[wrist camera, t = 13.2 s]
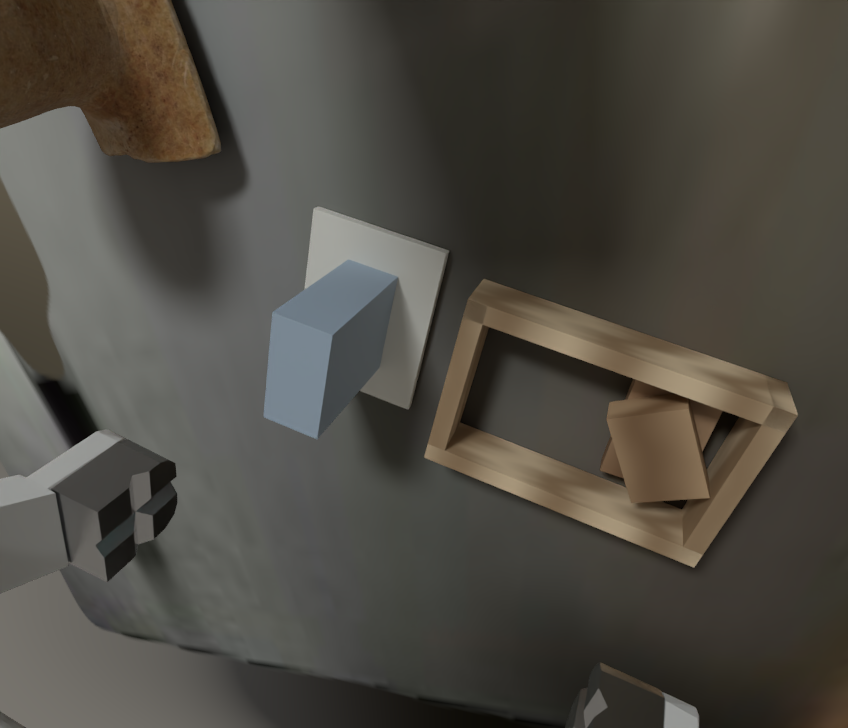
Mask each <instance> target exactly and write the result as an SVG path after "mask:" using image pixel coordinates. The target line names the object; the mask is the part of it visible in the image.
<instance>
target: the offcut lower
mask: <svg viewBox="0 0 848 728" xmlns="http://www.w3.org/2000/svg"><path fill="white" fill-rule="evenodd" d="M670 393H672V392H669V391H666V390H664V389H661V388H658V387H655V386H652V385H650V384H647V383H644V382H641V381H639V380H636V379H633V380H632V383H631V385H630V388H629V391H628V393H627V396H626V398H625V400H628V399H635V398H642V397H649V396H656V395H663V394H670ZM690 402H691V406H692V410H693V414H694V418H695V423H696V427H697V431H698V435H699V440H700V444H701V448H702V451H703V449H704V447H705V445H706V443H707V441H708V439H709V437H710V435H711V433H712V431H713V429H714V427H715V425H716V423H717V421H718V419H719V417H720V415H721V413H722V410H719V409H717V408H714V407H711V406H708V405H706V404H703V403H700V402H697V401H694V400H692V399H690ZM600 471H603V472H606V473H609V474H612V475H615V476H618V477H621V478H623V474H622V471H621V467H620V464H619V461H618V457H617V454H616V450H615V447H614V443H613V440H612V437H611V436H610V439H609V441H608V444H607V446H606V449H605V452H604V454H603V457H602V460H601V466H600Z"/></svg>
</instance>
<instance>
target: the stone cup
mask: <svg viewBox="0 0 848 728" xmlns="http://www.w3.org/2000/svg"><path fill="white" fill-rule="evenodd" d="M67 106H76V107H80V108H81V110H82V111H83V113H84V115H85V117H86V119H87V121H88V123H89V125H90V127H91V129H92V131H93V133H94V135H95V137H96V139H97V142H98V144H99V146H100V148H101V150H102V151H103V152H104V153H105V154H107V155H109V156H114V155H119V156H121V155H129V156H130V157H132V158H133V159H138V160H143V161H145V162H147V163H158V162H179V161H187V160H194V159H202V158H206V157H208V156H210V155H212V154H217V153H219V152H220V151H221V142H220V139H219V135H218V132H217V129H216V125H215V122H214V119H213V116H212V113H211V110H210V106H209V103H208V100H207V97H206V95H205V92H204V89H203V86H202V83H201V80H200V77H199V75H198V72H197V69H196V66H195V63H194V61H193V58H192V55H191V52H190V50H189V48H188V45H187V42H186V39H185V36H184V33H183V31H182V28H181V25H180V22H179V20H178V17H177V15H176V12H175V9H174V7H173V4H172V2H171V0H0V128H3V127H6V126H9V125H12V124H15V123H18V122H21V121H23V120H26V119H29V118H32V117H34V116H37V115H40V114H42V113H45V112H47V111H50V110H53V109H57V108H62V107H67Z"/></svg>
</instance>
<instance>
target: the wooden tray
mask: <svg viewBox="0 0 848 728" xmlns="http://www.w3.org/2000/svg"><path fill="white" fill-rule="evenodd" d="M489 327H491V328H493V329H496V330H499V331H502V332H504V333H507V334H510V335H513V336H516V337H518V338H521V339H524V340H527V341H530V342H532V343H535V344H538V345H541V346H544V347H546V348H549V349H552V350H555V351H558V352H560V353H563V354H566V355H569V356H571V357H574V358H577V359H580V360H583V361H585V362H588V363H591V364H594V365H597V366H599V367H602V368H605V369H608V370H611V371H613V372H616V373H619V374H622V375H625V376H627V377H630V378H633V379H636V380H639V381H641V382H644V383H647V384H650V385H652V386H655V387H658V388H661V389H664V390H666V391H669V392H672V393H675V394H678V395H680V396H683V397H686V398H689V399H692V400H694V401H697V402H700V403H703V404H706V405H708V406H711V407H714V408H717V409H719V410H722V411H725V412H728V413H731V414H733V415H736V416H739V418H738V420H737V421H736V423H735V424H734V426H733V428H732V429H731V431H730V433H729V434H728V436H727V437H726V439H725V441H724V442H723V444H722V446H721V447H720V449H719V450H718V452H717V454H716V455H715V457H714V458H713V460H712V462H711V463H710V465H709V467H708V468H707V473H708V479H709V494H710V498H701V499H688V501H687V502H686V504H685V506H684V507H683V509H679V508H677V507H674V506H672V505H669V504H667V503H664V502H662V501H656V502H641V503H631V501H630V498H629V495H628V491H627V488H626V487H623V486H621V485H618V484H616V483H613V482H611V481H608V480H606V479H603V478H600V477H598V476H595V475H593V474H590V473H588V472H585V471H583V470H580V469H578V468H575V467H572V466H570V465H567V464H565V463H562V462H560V461H557V460H555V459H552V458H550V457H547V456H544V455H542V454H539V453H537V452H534V451H532V450H529V449H527V448H524V447H521V446H519V445H516V444H514V443H511V442H509V441H506V440H504V439H501V438H499V437H496V436H493V435H491V434H488V433H486V432H483V431H481V430H478V429H476V428H473V427H471V426H468V425H465V424H463V423H460V421H461V418H462V414H463V411H464V408H465V405H466V401H467V398H468V395H469V391H470V388H471V385H472V382H473V378H474V375H475V372H476V369H477V365H478V362H479V359H480V356H481V352H482V349H483V346H484V343H485V339H486V336H487V333H488V330H489ZM797 416H798V414H797V411H796V408H795V405H794V402H793V399H792V396H791V393H790V390H789V387H788V384H787V382H784V381H781V380H778V379H775V378H772V377H769V376H766V375H763V374H760V373H758V372H755V371H752V370H749V369H746V368H743V367H740V366H737V365H734V364H731V363H728V362H725V361H723V360H720V359H717V358H714V357H711V356H708V355H705V354H702V353H699V352H696V351H693V350H691V349H688V348H685V347H682V346H679V345H676V344H673V343H670V342H667V341H664V340H661V339H658V338H656V337H653V336H650V335H647V334H644V333H641V332H638V331H635V330H632V329H629V328H626V327H623V326H621V325H618V324H615V323H612V322H609V321H606V320H603V319H600V318H597V317H594V316H591V315H589V314H586V313H583V312H580V311H577V310H574V309H571V308H568V307H565V306H562V305H559V304H556V303H554V302H551V301H548V300H545V299H542V298H539V297H536V296H533V295H530V294H527V293H524V292H521V291H519V290H516V289H513V288H510V287H507V286H504V285H501V284H498V283H495V282H492V281H489V280H486V279H483V280H482V281H481V283H480V284H479V285H478V287H477V288H476V289H475V290H474V292H473V293H472V294H471V296H470V297H469V298H468V301H467V304H466V308H465V311H464V315H463V319H462V322H461V326H460V329H459V333H458V337H457V340H456V344H455V347H454V351H453V355H452V358H451V362H450V365H449V369H448V373H447V376H446V380H445V384H444V387H443V391H442V394H441V398H440V402H439V405H438V409H437V412H436V416H435V420H434V423H433V427H432V430H431V434H430V438H429V441H428V445H427V449H426V452H425V456H424V458H427V459H429V460H432V461H434V462H437V463H439V464H441V465H444V466H446V467H449V468H451V469H454V470H456V471H459V472H461V473H463V474H466V475H468V476H471V477H473V478H476V479H478V480H481V481H483V482H485V483H488V484H490V485H493V486H495V487H498V488H500V489H503V490H505V491H507V492H510V493H512V494H515V495H517V496H520V497H522V498H525V499H527V500H530V501H532V502H534V503H537V504H539V505H542V506H544V507H547V508H549V509H552V510H554V511H556V512H559V513H561V514H564V515H566V516H569V517H571V518H574V519H576V520H578V521H581V522H583V523H586V524H588V525H591V526H593V527H596V528H598V529H600V530H603V531H605V532H608V533H610V534H613V535H615V536H618V537H620V538H623V539H625V540H627V541H630V542H632V543H635V544H637V545H640V546H642V547H645V548H647V549H649V550H652V551H654V552H657V553H659V554H662V555H664V556H667V557H669V558H671V559H674V560H676V561H679V562H681V563H684V564H686V565H689V566H691V567H693V568H694V567H695V566H696V564H697V563H698V561H699V560H700V558H701V557H702V555H703V554H704V552H705V551H706V550H707V548H708V547H709V545H710V544H711V542H712V541H713V539H714V538H715V536H716V535H717V533H718V532H719V530H720V529H721V528H722V526H723V525H724V523H725V522H726V520H727V519H728V517H729V516H730V514H731V513H732V511H733V510H734V508H735V507H736V506H737V504H738V503H739V501H740V500H741V498H742V497H743V495H744V494H745V492H746V491H747V489H748V488H749V486H750V485H751V484H752V482H753V481H754V479H755V478H756V476H757V475H758V473H759V472H760V470H761V469H762V467H763V466H764V464H765V463H766V461H767V460H768V459H769V457H770V456H771V454H772V453H773V451H774V450H775V448H776V447H777V445H778V444H779V442H780V441H781V439H782V438H783V437H784V435H785V434H786V432H787V431H788V429H789V428H790V426H791V425H792V423H793V422H794V420H795V419H796V417H797Z"/></svg>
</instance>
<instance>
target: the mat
mask: <svg viewBox="0 0 848 728" xmlns="http://www.w3.org/2000/svg"><path fill="white" fill-rule="evenodd" d="M448 254H449V250H446V249H443V248H440V247H437V246H434V245H431V244H428V243H425V242H422V241H420V240H417V239H414V238H411V237H408V236H405V235H402V234H399V233H396V232H393V231H390V230H387V229H384V228H381V227H378V226H375V225H372V224H369V223H366V222H363V221H360V220H357V219H354V218H351V217H348V216H346V215H343V214H340V213H337V212H334V211H331V210H328V209H325V208H322V207H319V206H318V207H316V208H314V211H313V220H312V228H311V237H310V246H309V255H308V263H307V272H306V281H305V289H306V288H308V287H309V286H311V285H312V284H314V283H315V282H317V281H318V280H319V279H321V278H322V277H324V276H325V275H327V274H328V273H329V272H331V271H332V270H334V269H335V268H337V267H338V266H339V265H341V264H342V263H344V262H345V261H347V260H348V259H349V260H352V261H355V262H358V263H360V264H363V265H366V266H369V267H372V268H375V269H377V270H380V271H383V272H386V273H389V274H392V275H394V276H397V277H398V280H397V285H396V290H395V295H394V299H393V304H392V309H391V314H390V319H389V324H388V329H387V334H386V339H385V344H384V348H383V353H382V358H381V363H380V368H379V369H378V370H377V371H376V372H375V374H374V375H373V376H372V377H371V378H370V379H369V380H368V382H367V383H366V384H365V385H364V386H363V387H362V388H361V390H360V391H362V392H364V393H367V394H369V395H372V396H374V397H377V398H379V399H382V400H384V401H387V402H389V403H392V404H394V405H397V406H399V407H402V408H405V409H407V410H408V409H409V408H410V407H411V404H412V400H413V396H414V392H415V388H416V384H417V380H418V376H419V372H420V368H421V364H422V360H423V356H424V352H425V347H426V343H427V339H428V335H429V331H430V327H431V323H432V319H433V315H434V311H435V307H436V303H437V299H438V295H439V291H440V287H441V283H442V279H443V275H444V271H445V266H446V262H447V258H448Z"/></svg>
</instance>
